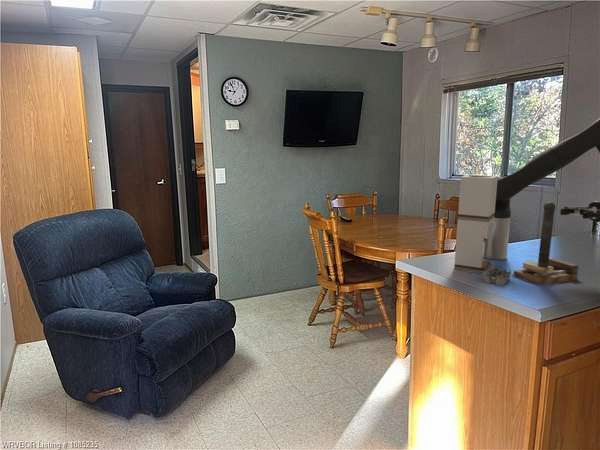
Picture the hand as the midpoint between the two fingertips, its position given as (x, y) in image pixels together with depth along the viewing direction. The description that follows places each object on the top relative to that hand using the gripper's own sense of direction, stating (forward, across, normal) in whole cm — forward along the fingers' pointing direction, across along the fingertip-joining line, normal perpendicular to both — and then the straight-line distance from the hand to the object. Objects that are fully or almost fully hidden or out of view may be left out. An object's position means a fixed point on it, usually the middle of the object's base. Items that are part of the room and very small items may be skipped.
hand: (572, 213), depth 156 cm
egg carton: (+26, -6, +23) cm, 35 cm away
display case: (+23, -21, +23) cm, 39 cm away
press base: (+8, -2, +23) cm, 24 cm away
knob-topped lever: (+11, -2, +20) cm, 23 cm away
